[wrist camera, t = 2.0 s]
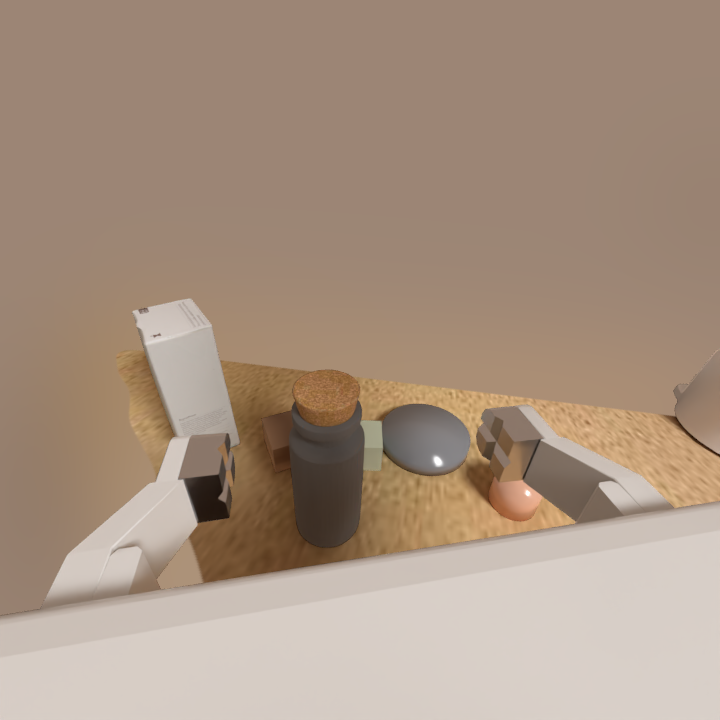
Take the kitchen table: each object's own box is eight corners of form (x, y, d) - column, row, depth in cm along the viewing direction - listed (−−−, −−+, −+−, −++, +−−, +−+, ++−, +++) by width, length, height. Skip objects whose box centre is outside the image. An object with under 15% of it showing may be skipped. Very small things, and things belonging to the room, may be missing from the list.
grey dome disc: (447, 408, 47) (449, 400, 46) (483, 469, 39) (486, 460, 38) (372, 416, 45) (373, 407, 45) (393, 481, 37) (394, 472, 36)
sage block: (379, 443, 42) (381, 421, 40) (380, 471, 38) (382, 448, 37) (335, 442, 42) (335, 419, 40) (333, 470, 38) (333, 446, 37)
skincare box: (241, 444, 41) (218, 326, 33) (184, 468, 38) (143, 344, 30) (218, 403, 46) (194, 294, 38) (166, 421, 43) (128, 306, 35)
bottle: (313, 483, 37) (307, 358, 29) (368, 501, 35) (378, 374, 27) (284, 535, 32) (267, 402, 24) (346, 558, 30) (351, 425, 22)
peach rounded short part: (519, 480, 38) (529, 457, 36) (544, 518, 35) (556, 494, 33) (480, 485, 37) (488, 462, 35) (502, 524, 34) (512, 500, 32)
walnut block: (306, 429, 43) (305, 406, 41) (321, 459, 40) (320, 435, 38) (264, 441, 41) (261, 418, 40) (275, 474, 38) (272, 450, 36)
